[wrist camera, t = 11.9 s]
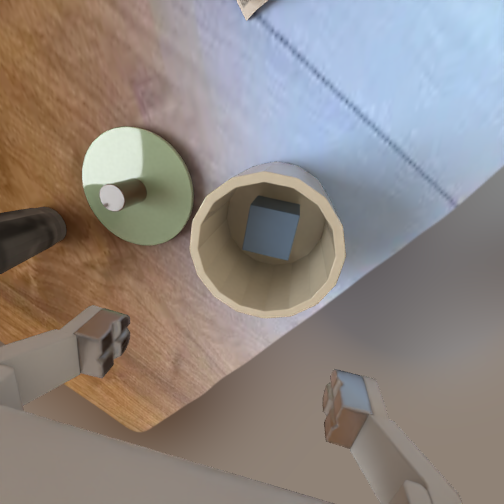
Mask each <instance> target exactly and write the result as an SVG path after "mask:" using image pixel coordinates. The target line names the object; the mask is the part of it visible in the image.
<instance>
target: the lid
mask: <svg viewBox="0 0 504 504" xmlns="http://www.w3.org/2000/svg"><path fill="white" fill-rule="evenodd" d="M82 181H83V187H84V192H85V195H86V198H87V201H88V203H89V205H90V207H91V209H92V211H93V212H94V214H95V215H96V217H97V218H98V219H99V221H100V222H101V223H102V224H103V225H104V226H105V227H106V228H107V229H108V230H109V231H111V232H112V233H113V234H115V235H116V236H118V237H120V238H121V239H123V240H126V241H128V242H131V243H134V244H139V245H157V244H161V243H164V242H166V241H168V240H170V239H172V238H173V237H175V236H176V235H177V234H178V233H180V231H181V230H182V229H183V228H184V227H185V225H186V224H187V222H188V220H189V218H190V215H191V212H192V208H193V200H194V193H193V185H192V180H191V177H190V174H189V171H188V169H187V167H186V165H185V163H184V161H183V159H182V158H181V156H180V155H179V154H178V152H177V151H176V150H175V149H174V148H173V147H172V146H171V145H170V144H169V143H168V142H167V141H166V140H164V139H163V138H162V137H160V136H158V135H157V134H155V133H153V132H151V131H148V130H146V129H142V128H138V127H117V128H113V129H110V130H108V131H106V132H104V133H102V134H101V135H100V136H98V137H97V138H96V139H95V140H94V141H93V143H92V144H91V145H90V147H89V149H88V150H87V153H86V155H85V158H84V162H83V169H82Z"/></svg>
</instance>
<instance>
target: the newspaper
mask: <svg viewBox="0 0 504 504" xmlns="http://www.w3.org/2000/svg"><path fill="white" fill-rule="evenodd" d="M267 1H268V0H237V2H238V5H239V7H240V9H241V11H242V13H243V15H244V17H245V19H246V21H247V20H248V19H249V17H250V16H251V15H252V14H253V13H254V12H255V11H256V10H257V9H258V8H259V7H261V6H262V5H263V4H264V3H265V2H267Z"/></svg>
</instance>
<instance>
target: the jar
mask: <svg viewBox="0 0 504 504" xmlns="http://www.w3.org/2000/svg"><path fill="white" fill-rule="evenodd" d="M258 195H259V196H264V197H268V198H273V199H277V200H282V201H286V202H291V203H296V204H300V218H299V222H298V226H297V230H296V233H295V237H294V241H293V245H292V249H291V252H290V256H289V260H288V261H287V260H283V259H279V258H274V257H270V256H266V255H262V254H257V253H253V252H249V251H245V250H242V247H243V242H244V236H245V231H246V225H247V220H248V214H249V209H250V205H251V203H252V202H253V201H254V200H255V198H256V197H257V196H258ZM190 253H191V256H192V259H193V262H194V266H195V269H196V272H197V275H198V277H199V278H200V279H201V280H202V282H203V283H204V284H205V286H206V287H207V288H208V289H209V291H210V292H211V293H212V295H213V296H214V297H215V298H217V299H218V300H220V301H221V302H223V303H225V304H226V305H228V306H229V307H231V308H232V309H234V310H235V311H237V312H241V313H244V314H248V315H252V316H256V317H260V318H276V317H289V316H293V315H295V314H297V313H300V312H302V311H304V310H306V309H308V308H311V307H313V306H315V305H316V304H318V303H319V302H320V301H321V300H322V299H323V298H324V297H325V296H326V295H327V294H328V292H329V291H330V290H331V289H332V288H333V287H334V286H335V285H336V283H337V281H338V278H339V275H340V272H341V269H342V266H343V264H344V261H345V258H346V251H345V241H344V231H343V225H342V223H341V221H340V219H339V217H338V215H337V213H336V211H335V208H334V206H333V204H332V202H331V200H330V198H329V197H328V195H327V193H326V191H325V190H324V188H323V186H322V185H321V183H320V181H319V180H318V179H317V178H315V177H314V176H313V175H311V174H310V173H309V172H307V171H306V170H304V169H303V168H301V167H299V166H296V165H292V164H289V163H282V162H270V163H264V164H261V165H256V166H253V167H251V168H249V169H247V170H245V171H243V172H242V173H240V174H238V175H236V176H234V177H232V178H231V179H229V180H228V181H227V182H225V183H224V184H222V185H221V186H220V187H218V188H217V189H215V190H214V191H213V192H211V193H210V194H208V195H207V196H206V198H205V199H204V201H203V203H202V205H201V206H200V208H199V210H198V212H197V213H196V215H195V217H194V219H193V221H192V228H191V239H190Z"/></svg>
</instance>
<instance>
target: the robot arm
mask: <svg viewBox="0 0 504 504" xmlns="http://www.w3.org/2000/svg"><path fill="white" fill-rule="evenodd" d="M129 324H130V317H129V316H128V315H126V314H123V313H119V312H116V311H112V310H109V309H104V308H101V307H97V306H94V305H93V306H89V307H88V308H86V309H85V310H84V311H83V312H81V313H80V314H79V315H78V316H76V317H75V318H74V319H73V320H71V321H70V322H69V323H68V324H66V325H65V326H64V327H62V328H61V329H60V330H56V329H55V330H51V331H48V332H45V333H42V334H39V335H36V336H32V337H29V338H26V339H23V340H20V341H16V342H13V343H10V344H7V345H4V346H0V504H334V503H330V502H327V501H324V500H320V499H317V498H313V497H310V496H306V495H304V494H300V493H297V492H293V491H290V490H287V489H283V488H280V487H277V486H273V485H270V484H266V483H263V482H260V481H256V480H253V479H250V478H246V477H243V476H239V475H236V474H233V473H229V472H226V471H222V470H219V469H216V468H212V467H209V466H206V465H202V464H199V463H196V462H192V461H189V460H185V459H182V458H179V457H176V456H172V455H169V454H165V453H162V452H158V451H155V450H152V449H149V448H145V447H142V446H139V445H135V444H132V443H128V442H125V441H122V440H118V439H115V438H112V437H108V436H105V435H102V434H98V433H95V432H92V431H88V430H85V429H82V428H78V427H75V426H72V425H68V424H64V423H61V422H58V421H55V420H51V419H48V418H45V417H41V416H38V415H34V414H31V413H28V412H25V411H24V409H23V406H24V405H25V404H27V403H29V402H31V401H33V400H34V399H36V398H38V397H40V396H41V395H44V394H45V393H47V392H49V391H51V390H53V389H54V388H56V387H58V386H60V385H62V384H64V383H65V382H67V381H69V380H71V379H73V378H74V377H76V376H78V375H80V373H82V374H86V375H90V376H94V377H98V378H103V377H104V376H105V374H106V373H107V372H108V371H109V370H110V368H111V367H112V366H113V365H114V363H113V359H115V358H117V357H119V356H121V355H122V354H123V352H124V351H125V350H126V348H127V345H128V343H129V339H130V331H129V330H128V328H127V326H128V325H129ZM330 379H331V383H329V384H327V385H326V388H325V391H324V395H323V412H324V413H325V415H326V416H327V417H326V420H325V422H324V427H325V438H326V442H329V443H333V444H336V445H339V446H342V447H345V448H349V449H350V451H351V453H352V455H353V456H354V458H355V460H356V462H357V463H358V465H359V467H360V469H361V470H362V472H363V474H364V476H365V478H366V479H367V481H368V483H369V485H370V486H371V488H372V490H373V491H374V493H375V495H376V497H377V499H378V500H379V502H380V504H463V502H462V500H461V498H460V495H459V494H458V492H457V491H456V490H455V489H454V488H453V487H452V486H451V484H450V483H449V482H448V481H447V480H446V479H445V478H444V477H443V475H442V474H441V473H440V472H439V471H438V470H437V469H436V468H435V466H434V465H433V464H432V463H431V462H430V461H429V460H428V459H427V457H426V456H425V455H424V454H423V453H422V452H421V451H420V450H419V449H418V448H417V446H416V445H415V444H414V443H413V442H412V441H411V440H410V439H409V437H408V436H407V435H406V434H405V433H404V432H403V431H402V430H401V428H400V427H399V426H398V425H397V424H396V423H395V422H394V421H392V420H390V419H389V416H388V413H387V410H386V407H385V404H384V401H383V398H382V395H381V392H380V389H379V386H378V383H377V381H376V380H375V379H373V378H369V377H365V376H360V375H356V374H352V373H348V372H345V371H341V370H337V369H334V370H333V371H332V373H331V375H330Z"/></svg>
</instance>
